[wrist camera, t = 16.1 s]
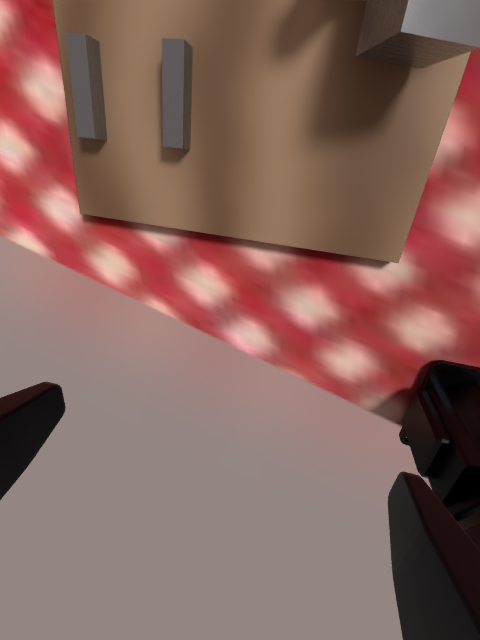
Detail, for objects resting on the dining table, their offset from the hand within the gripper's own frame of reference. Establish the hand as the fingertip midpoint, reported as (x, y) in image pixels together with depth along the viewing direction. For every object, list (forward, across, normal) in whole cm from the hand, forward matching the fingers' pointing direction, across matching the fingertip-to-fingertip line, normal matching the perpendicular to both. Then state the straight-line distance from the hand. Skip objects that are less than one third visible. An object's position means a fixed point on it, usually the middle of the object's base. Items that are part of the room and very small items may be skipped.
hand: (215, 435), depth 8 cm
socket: (+11, +8, -8) cm, 16 cm away
